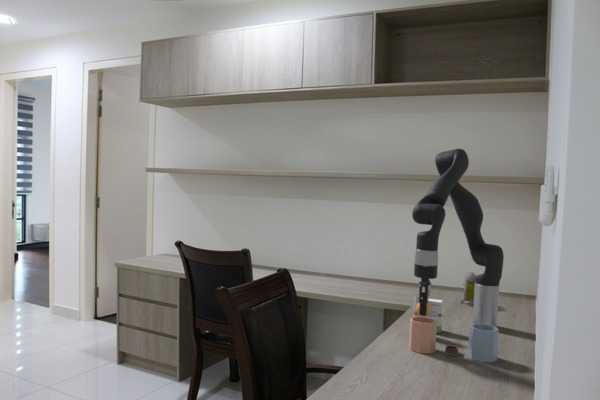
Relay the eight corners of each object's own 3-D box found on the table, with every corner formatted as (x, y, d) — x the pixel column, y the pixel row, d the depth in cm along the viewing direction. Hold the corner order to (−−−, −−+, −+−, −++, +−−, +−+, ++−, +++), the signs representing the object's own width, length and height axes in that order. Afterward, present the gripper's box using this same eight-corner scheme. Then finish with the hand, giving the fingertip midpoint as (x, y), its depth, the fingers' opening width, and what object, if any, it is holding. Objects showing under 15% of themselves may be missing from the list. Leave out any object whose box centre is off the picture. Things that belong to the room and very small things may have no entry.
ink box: (442, 330, 190) (443, 299, 190) (440, 333, 185) (442, 302, 185) (419, 326, 193) (421, 297, 193) (417, 330, 189) (419, 299, 188)
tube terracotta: (417, 343, 172) (419, 315, 172) (439, 350, 166) (440, 320, 166) (404, 348, 166) (406, 319, 166) (426, 355, 160) (427, 324, 160)
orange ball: (420, 312, 169) (421, 298, 169) (433, 316, 166) (434, 301, 166) (412, 315, 166) (413, 300, 166) (425, 318, 162) (426, 303, 162)
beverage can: (416, 331, 186) (418, 292, 185) (428, 335, 183) (430, 294, 182) (409, 334, 182) (411, 294, 181) (422, 338, 179) (424, 297, 178)
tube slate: (476, 351, 166) (477, 322, 166) (500, 358, 160) (502, 328, 160) (464, 356, 160) (466, 326, 160) (489, 364, 154) (490, 332, 154)
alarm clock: (475, 307, 230) (477, 275, 229) (460, 305, 232) (461, 273, 232) (474, 301, 241) (476, 271, 241) (460, 300, 243) (461, 270, 243)
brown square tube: (445, 350, 166) (445, 344, 166) (457, 352, 164) (458, 346, 164) (445, 354, 162) (445, 348, 162) (457, 356, 161) (458, 350, 161)
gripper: (416, 259, 173) (413, 307, 174) (412, 265, 160) (410, 317, 160) (438, 261, 171) (435, 309, 171) (436, 267, 157) (433, 320, 158)
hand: (423, 313), depth 166 cm, fingers closed on orange ball, 5 cm apart
